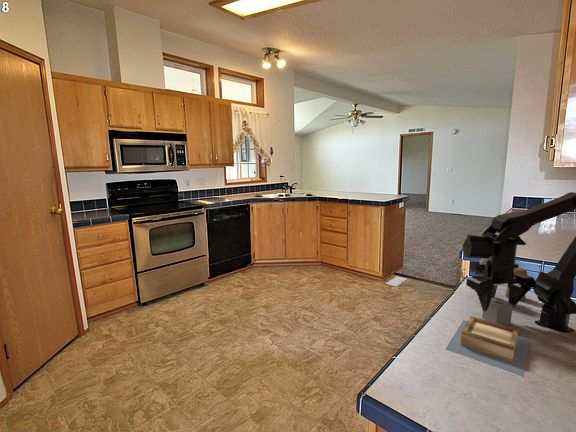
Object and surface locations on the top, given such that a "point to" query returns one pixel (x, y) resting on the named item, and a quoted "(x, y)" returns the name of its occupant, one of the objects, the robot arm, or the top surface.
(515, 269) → the cork
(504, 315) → the block
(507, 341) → the wooden tray
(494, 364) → the board
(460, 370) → the top surface
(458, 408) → the top surface
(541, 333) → the top surface
